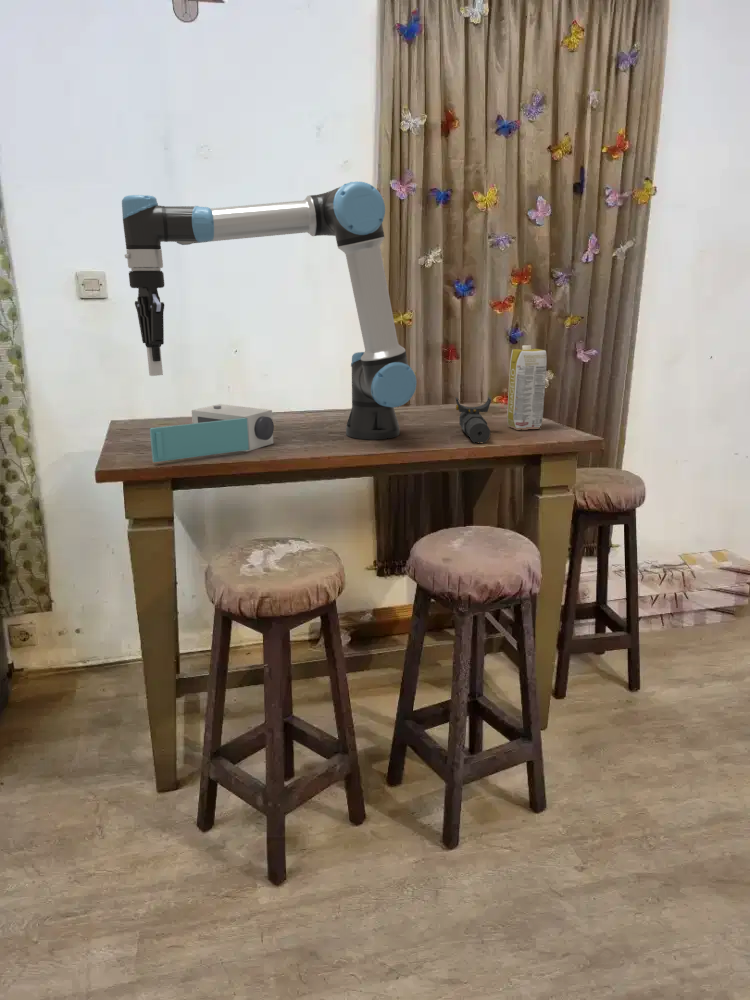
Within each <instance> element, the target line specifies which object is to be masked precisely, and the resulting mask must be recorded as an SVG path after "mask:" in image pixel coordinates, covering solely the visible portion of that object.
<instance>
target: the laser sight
mask: <svg viewBox="0 0 750 1000" xmlns="http://www.w3.org/2000/svg"><path fill="white" fill-rule="evenodd" d="M459 401H460V400H459V398H458V397H457V396H456V397H455V402H456V406H455V410H456V411H458V412H459V413H460V414H459V426H460V428H461V429H462V431H463V433H464V434H465V435H467V436H469V437H470V438H469V439H470V440H471V441H472V442H473V443H475V442H479V443H480V442H484V443H486V442H487V441H489V439H490V437H491V430H490V427H489V426H488V422H487V421H486V419H485V417H483V416H482V415H481V414H480V413H488V411H489V408H490V405H491V402H492V398H491V397H489V396H488V397H487V401H486V402H485V403H483V404H482V405H480V406H473V407H472V406H465V405H462V404H461V403H460V402H459ZM475 444H476V443H475Z"/></svg>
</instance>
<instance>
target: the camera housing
mask: <svg viewBox="0 0 750 1000" xmlns="http://www.w3.org/2000/svg"><path fill="white" fill-rule="evenodd" d="M239 418H248V424H249V443H250V449H249V450H243V451H242V452H245V453H247V452H250V451H253V450H257V449H261V448H263V447H266V446H270V445H273V444H274V429H275V426H274V420H273V410H272V409H265V408H257V407H249V406H248V407H247V406H241V405H240V406H239V405H233V404H232V405H230V404H222V403H218V404H215V405H209V406H204V407H201V408H196V409H192V410H191V420H192V421H191V423H192V424H193V423H202V422H211V421H221V420H230V419H239Z"/></svg>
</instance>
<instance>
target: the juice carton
mask: <svg viewBox="0 0 750 1000" xmlns="http://www.w3.org/2000/svg"><path fill="white" fill-rule="evenodd" d="M521 347H522V349H519V348H516V349H515V348H512V350H511V355H510V359H509V360H510V361H509V375H508V377H509V378H508V379H509V380H508V392H507V393H508V394H507V395H508V397H507V412H506V413H507V414H506V416H507V417H506V419H507V426H508V425H510V426H513V427H515V428H526V427H540V426H541V427H542V423H543V417H544V406H545V403H544V402H545V391H546V389H545V388H546V377H547V364H548V363H547V351H546V350H545V349H540V348H532V344H529V345H528V344H527V345H525V344H524V345H522V346H521Z"/></svg>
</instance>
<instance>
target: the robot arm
mask: <svg viewBox="0 0 750 1000" xmlns="http://www.w3.org/2000/svg"><path fill="white" fill-rule="evenodd" d="M121 209H122V212H121V213H122V224H123V225H122V226H123V231H124V232H123V233H124V240H125V249H126V253H125V254H124V258H125V259H127V267H128V268H129V269H131V270H130V271H128V278H129V281H128V282H129V287H130V288H131V289H138V290H137V291H138V293H137V295H138V296H137V300H135V301H134V306H135V309H136V311H137V313H136V314H137V319H138V324H139V329H140V336H141V341H142V344H144V345H145V347H146V353H147V363H148V364H147V367H148V373H149V376H151V377H154V376H156V377H157V376H164V375H163V374H164V373H163V372H164V371H163V363H162V350H161V347H162V345H164V343H165V341H164V340H165V339H164V337H165V336H164V334H165V333H164V331H165V330H164V311H165V302H163V301H162V302H161V298H160V295H159V291H158V289H159V288H160V289H162V288H164V287H165V277H164V272H163V271H162V270H161V269H163V268H164V262H163V253H162V246H161V245H162V244H161V242H163V243H168V242H169V243H173V242H174V243H177V244H179V245H182V246H185V245H186V246H188V245H192V244H199V243H209V242H210V243H211V242H218V241H219V242H220V241H229V240H240V239H242V240H243V239H251V238H263V237H271V236H272V237H273V236H274V237H275V236H283V235H284V236H285V235H294V234H305V233H308V235H310V236H311V237H317V236H332V237H335V241H336V245H337V249H339V250H340V251H342V252H343V253H344V255H345V258H346V259H345V260H346V262H347V268H348V272H349V278H350V283H351V287H352V293H353V297H354V298H353V299H354V303H355V308H356V312H357V313H356V314H357V317H358V322H359V328H360V333H361V338H362V341H363V346H364V351H359V352H358V351H357V352H354V353H353V354H352V356H351V364H350V367H351V410H350V413H349V415H348V418H347V422H346V426H345V435H346V436H347V437H349V438H354V439H358V440H386V439H387V438H388V439H392V438H397V437H398V436H399V435H400V424H399V421H398V417H397V415H396V411H395V410H396V409H395V408H398V407H402V406H404V405H405V404H406V403H408V402H409V401H410V400H411V399H412V398H413V396H414V395H415V393H416V389H417V384H418V383H417V377H416V373H415V372H414V370H413V368H412V367H411V366H410V365H409V362H408V358H407V357H408V356H407V352H406V348H404V347H403V346H402V345H401V344H399V341H398V336H397V331H396V325H395V319H394V313H393V309H392V304H391V303H392V302H391V298H390V293H389V287H388V283H387V278H386V277H387V276H386V273H385V272H386V271H385V267H384V261H383V256H382V249H381V245H382V243H383V241H384V239H385V233H384V227H383V222H384V219H385V215H386V205H385V201H384V199H383V196H382V195H381V192H380V191H379V190H378V188H376V187H374V186H373V185H372V184H371V183H368V182H365V181H350V182H347V183H344V184H343V185H341V186H339V187H337V188H334V189H332V190H329V191H326V192H323V193H319V194H311V195H307V196H306V197H305V199H304V200H291V201H283V202H282V201H281V202H271V203H268V202H267V203H259V204H248V205H237V206H236V205H235V206H234V205H233V206H226V207H214V208H213V207H212V208H211V207H207V206H199V205H194V206H189V205H188V206H181V205H180V206H165V205H159V204H158V201H157V198H156V196H153V195H143V194H131V195H125V196H124V197H123V198H122V199H121Z"/></svg>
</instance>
